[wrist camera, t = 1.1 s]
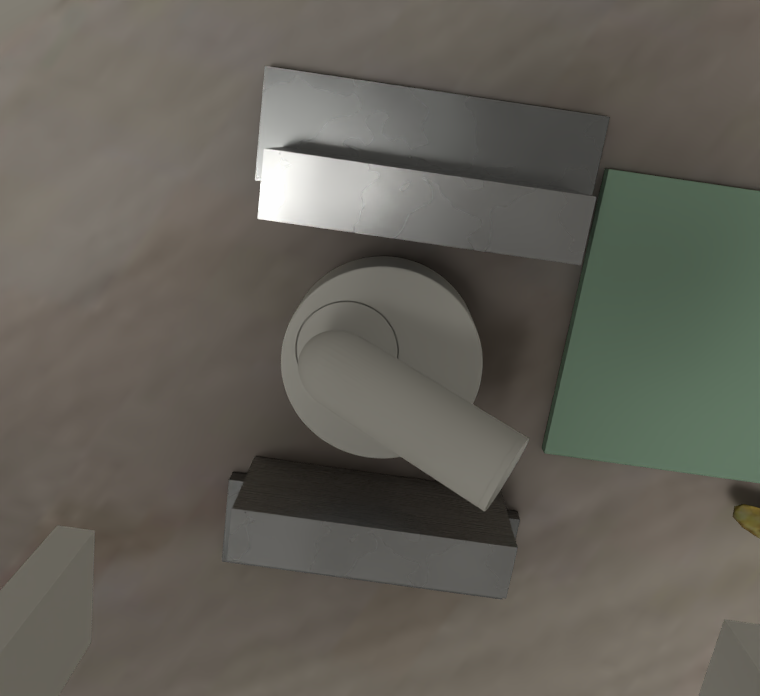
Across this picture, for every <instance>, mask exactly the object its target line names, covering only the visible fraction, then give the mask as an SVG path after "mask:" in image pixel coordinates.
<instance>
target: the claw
mask: <svg viewBox="0 0 760 696" xmlns="http://www.w3.org/2000/svg"><path fill="white" fill-rule="evenodd" d="M733 517H734V518H735V520H736V521H737V522H738V523H739V524H740V525H741V526H742V527H743V528H744V529H746V530H748V531H749V532H750V533H752V534H753V535H755V536H756V537H758V538H760V508H758V507H754V506H750V505H746V504H742V505H738V506H734V512H733Z"/></svg>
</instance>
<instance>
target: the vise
mask: <svg viewBox="0 0 760 696" xmlns="http://www.w3.org/2000/svg"><path fill="white" fill-rule="evenodd" d="M609 118H610V117H607V116H600V115H594V114H587V113H580V112H573V111H567V110H560V109H553V108H546V107H540V106H533V105H526V104H519V103H513V102H506V101H499V100H492V99H486V98H479V97H472V96H465V95H459V94H452V93H445V92H438V91H432V90H425V89H418V88H411V87H405V86H398V85H391V84H384V83H378V82H371V81H364V80H357V79H351V78H344V77H337V76H330V75H323V74H317V73H310V72H303V71H296V70H290V69H283V68H276V67H269V66H265V72H264V83H263V95H262V106H261V118H260V129H259V141H258V152H257V164H256V175H255V180H257V181H261V186H260V198H259V209H258V219H263V220H270V221H277V222H284V223H291V224H298V225H305V226H311V227H318V228H325V229H332V230H339V231H346V232H353V233H360V234H367V235H374V236H381V237H388V238H395V239H402V240H408V241H415V242H422V243H429V244H436V245H443V246H450V247H457V248H464V249H471V250H478V251H485V252H492V253H499V254H505V255H512V256H519V257H526V258H533V259H540V260H547V261H554V262H561V263H568V264H575V265H581V264H582V259H583V255H584V250H585V246H586V241H587V237H588V233H589V228H590V224H591V219H592V215H593V210H594V206H595V201H596V197H595V196H592V194H593V190H594V185H595V181H596V176H597V172H598V167H599V163H600V158H601V154H602V149H603V145H604V141H605V136H606V132H607V127H608V123H609ZM519 521H520V519H519V516H518V512H517V511H511V510H506V506H505V503H504V499H503V496H502V493H501V490H500V492H499V493H498V495H497V496H496V498H495V499H494V501H493V502H492V503H491V505H490V506H489V507H488V509H487V510H486V511H483V510H481V509H480V508H479V507H477V506H475V505H474V504H472V503H471V502H469V501H468V500H466V499H465V498H463V497H461V496H460V495H458V494H457V493H455V492H454V491H452V490H451V489H449V488H448V487H446V486H445V485H443V484H442V483H440V482H437V481H430V480H423V479H415V478H408V477H401V476H394V475H387V474H379V473H372V472H365V471H358V470H351V469H343V468H336V467H329V466H322V465H314V464H307V463H300V462H293V461H286V460H278V459H271V458H264V457H257V456H255V457H254V460H253V462H252V464H251V466H250V469H249V471H248V473H247V474H243V473H236V472H233V473H232V475H231V477H230V479H229V485H228V497H227V508H226V520H225V531H224V543H223V554H222V561H223V562H231V563H238V564H245V565H253V566H260V567H267V568H275V569H282V570H289V571H297V572H304V573H312V574H319V575H326V576H334V577H341V578H348V579H356V580H363V581H370V582H378V583H385V584H393V585H400V586H407V587H415V588H422V589H429V590H437V591H444V592H451V593H459V594H466V595H473V596H481V597H488V598H496V599H502V598H506V597H507V593H508V588H509V584H510V579H511V575H512V570H513V566H514V561H515V557H516V553H517V544H516V541H515V539H516V535H517V530H518V526H519Z"/></svg>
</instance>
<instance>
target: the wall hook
mask: <svg viewBox="0 0 760 696" xmlns="http://www.w3.org/2000/svg"><path fill="white" fill-rule="evenodd" d="M482 367H483V357H482V348H481V343H480V339H479V335H478V332H477V329H476V327H475V324H474V322H473V319H472V317H471V314H470V312H469V310H468V308H467V306H466V304H465V302H464V301H463V299H462V298H461V296H460V295H459V293H458V292H457V291H456V290H455V288H454V287H453V286H452V285H451V284H450V283H449V282H448V281H447V280H445V279H444V278H443V277H442V276H440V275H439V274H438V273H436V272H435V271H433V270H432V269H430V268H428V267H426V266H424V265H422V264H419V263H417V262H414V261H411V260H407V259H403V258H398V257H390V256H375V257H367V258H361V259H357V260H354V261H351V262H348V263H345V264H343V265H341V266H339V267H337V268H335V269H333V270H332V271H330V272H329V273H327V274H326V275H324V276H323V277H322V278H321V279H320V280H318V281H317V282H316V283H315V284H314V285H313V286H312V287H311V289H310V290H309V291H308V292H307V294H306V295H305V296H304V298H303V299H302V301H301V303H300V304H299V306H298V308H297V310H296V311H295V313H294V315H293V316H292V318H291V320H290V322H289V325H288V327H287V330H286V333H285V336H284V340H283V344H282V351H281V372H282V379H283V384H284V387H285V391H286V393H287V396H288V398H289V400H290V403H291V405H292V406H293V408H294V410H295V412H296V413H297V415H298V416H299V417H300V419H301V420H302V421H303V422H304V424H305V425H306V426H307V427H308V428H309V429H310V430H311V431H312V432H313V433H314V434H316V435H317V436H318V437H319V438H321V439H322V440H324V441H325V442H327V443H328V444H330V445H332V446H334V447H336V448H338V449H340V450H342V451H345V452H348V453H351V454H354V455H358V456H362V457H368V458H396V457H402V458H403V459H405V460H407V461H408V462H410V463H411V464H413V465H414V466H416V467H417V468H419V469H420V470H422V471H423V472H425V473H426V474H428V475H429V476H431V477H432V478H434V479H436V480H437V481H439V482H440V483H442V484H443V485H445V486H446V487H448V488H449V489H451V490H452V491H454V492H455V493H457V494H458V495H460V496H461V497H463V498H465V499H466V500H468V501H469V502H471V503H472V504H474V505H475V506H477V507H479V508H480V509H481V510H483V511H486V510H487V509H488V507H489V506H490V505H491V503H492V502H493V501H494V499H495V498H496V496H497V495H498V493H499V492H500V490H501V488H502V487H503V485H504V484H505V482H506V481H507V479H508V477H509V476H510V474H511V472H512V471H513V469H514V467H515V466H516V464H517V462H518V460H519V459H520V457H521V455H522V453H523V451H524V450H525V448H526V446H527V444H528V441H529V438H528V437H526V436H524V435H522V434H521V433H519V432H518V431H516V430H515V429H513V428H511V427H510V426H508V425H506V424H505V423H503V422H501V421H500V420H498V419H496V418H495V417H493V416H491V415H490V414H488V413H486V412H485V411H483V410H481V409H480V408H478V407H476V406H475V405H473V403H474V401H475V398H476V396H477V393H478V390H479V387H480V383H481V377H482Z"/></svg>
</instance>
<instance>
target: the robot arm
mask: <svg viewBox="0 0 760 696" xmlns="http://www.w3.org/2000/svg"><path fill="white" fill-rule="evenodd" d="M94 543H95V531H94V530H87V529H80V528H73V527H66V526H59V525H57V527H56V528H55V529H54V530H53V531H52V532H51V533H50V535H49V536H48V537H47V538H46V539H45V540H44V541H43V543H42V544H41V545H40V546H39V547H38V548H37V549H36V550H35V552H34V553H33V554H32V555H31V556H30V557H29V558H28V560H27V561H26V562H25V563H24V564H23V565H22V566H21V568H20V569H19V570H18V571H17V572H16V573H15V574H14V576H13V577H12V578H11V579H10V580H9V581H8V582H7V583H6V585H5V586H4V587H3V588H2V589H1V590H0V696H59V694H60V693H61V691H62V690H63V688H64V686H65V685H66V683H67V681H68V680H69V678H70V676H71V675H72V673H73V671H74V670H75V668H76V667H77V665H78V663H79V662H80V660H81V658H82V657H83V655H84V653H85V652H86V650H87V648H88V647H89V645H90V644H91V640H92V608H93V576H94ZM699 696H760V624H753V623H746V622H739V621H732V620H724V622H723V625H722V628H721V631H720V634H719V637H718V640H717V643H716V646H715V649H714V652H713V655H712V657H711V660H710V663H709V666H708V669H707V672H706V675H705V678H704V681H703V684H702V687H701V690H700V693H699Z"/></svg>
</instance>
